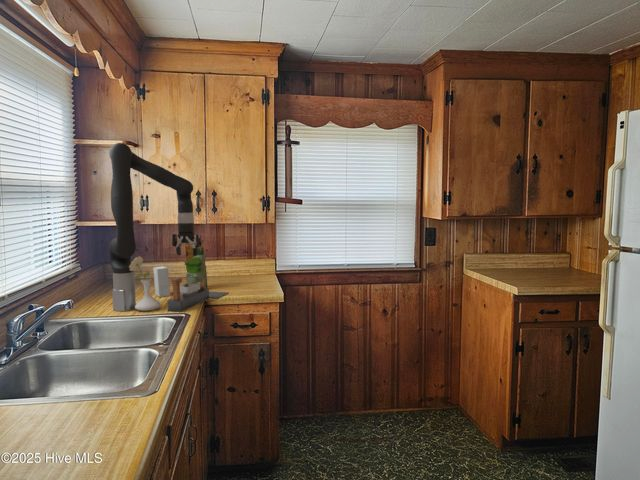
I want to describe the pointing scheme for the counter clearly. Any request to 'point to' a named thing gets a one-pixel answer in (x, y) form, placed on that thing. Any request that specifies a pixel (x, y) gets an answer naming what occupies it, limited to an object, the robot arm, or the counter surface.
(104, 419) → the counter surface
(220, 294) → the rubber mat
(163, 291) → the skincare box
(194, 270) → the green plant in glass
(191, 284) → the lever cap
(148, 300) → the flower in vase
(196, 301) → the hand plane
